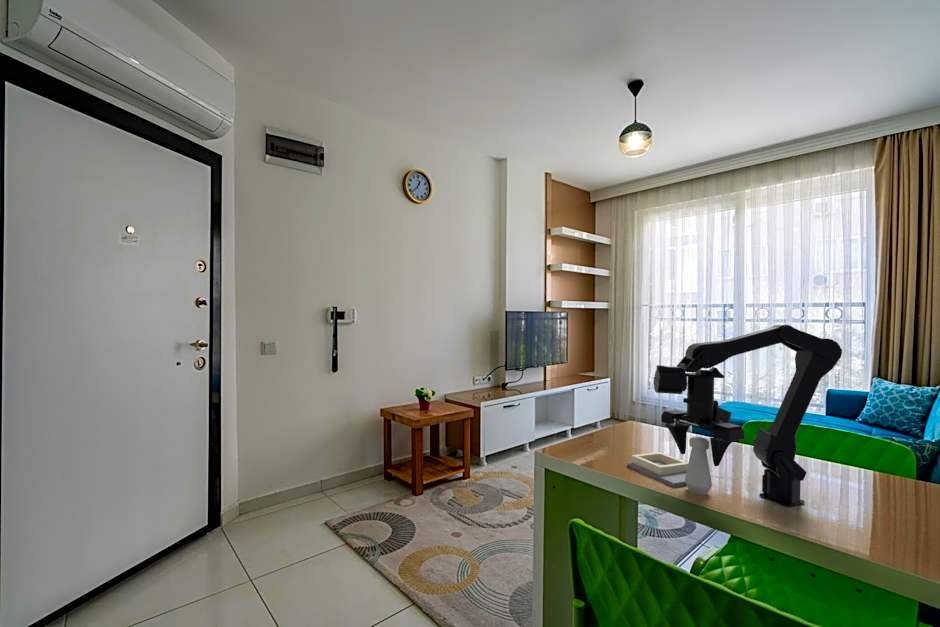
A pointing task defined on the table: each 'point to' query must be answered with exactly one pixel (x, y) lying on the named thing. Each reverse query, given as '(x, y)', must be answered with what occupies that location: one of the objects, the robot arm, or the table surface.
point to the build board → (661, 468)
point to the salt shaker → (698, 467)
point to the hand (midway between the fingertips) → (699, 459)
